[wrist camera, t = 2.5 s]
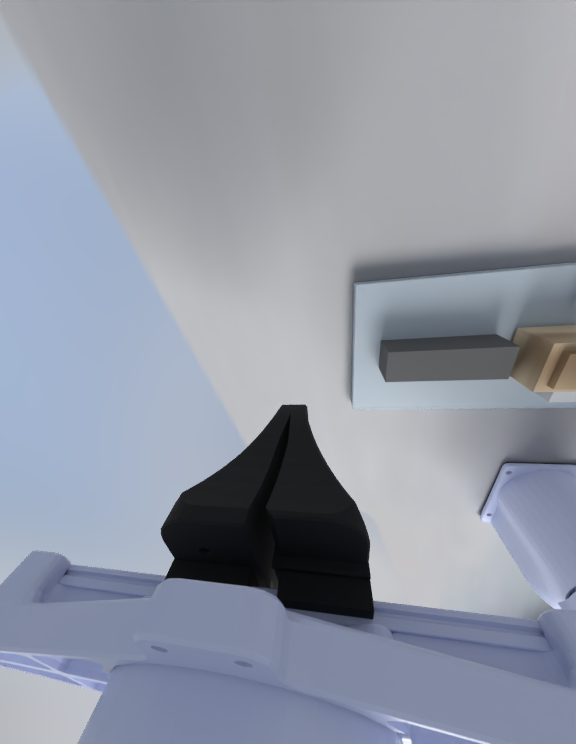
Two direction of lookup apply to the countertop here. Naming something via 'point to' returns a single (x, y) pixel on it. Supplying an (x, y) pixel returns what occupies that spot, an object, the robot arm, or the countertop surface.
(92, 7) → the countertop surface
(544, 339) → the slider block
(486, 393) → the channel
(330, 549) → the robot arm
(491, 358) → the bar
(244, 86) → the countertop surface
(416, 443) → the countertop surface
